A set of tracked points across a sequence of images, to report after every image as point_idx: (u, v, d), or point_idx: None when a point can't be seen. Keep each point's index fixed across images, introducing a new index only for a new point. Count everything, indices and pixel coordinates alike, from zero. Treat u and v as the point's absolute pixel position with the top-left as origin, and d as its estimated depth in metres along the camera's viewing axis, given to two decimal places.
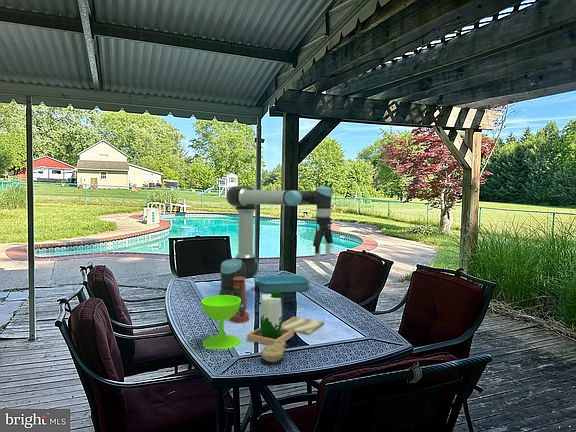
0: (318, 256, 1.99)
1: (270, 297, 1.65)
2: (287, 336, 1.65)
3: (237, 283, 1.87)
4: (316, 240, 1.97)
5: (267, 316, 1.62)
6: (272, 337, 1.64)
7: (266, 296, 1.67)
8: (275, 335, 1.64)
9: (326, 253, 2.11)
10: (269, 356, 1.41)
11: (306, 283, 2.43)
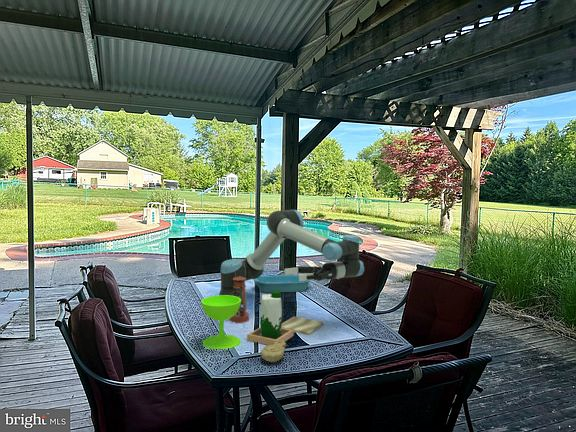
0: (302, 279, 1.64)
1: (270, 297, 1.65)
2: (287, 336, 1.65)
3: (237, 283, 1.87)
4: (322, 277, 1.66)
5: (267, 316, 1.62)
6: (272, 337, 1.64)
7: (266, 296, 1.67)
8: (275, 335, 1.64)
9: (287, 270, 1.76)
10: (269, 356, 1.41)
11: (306, 283, 2.43)
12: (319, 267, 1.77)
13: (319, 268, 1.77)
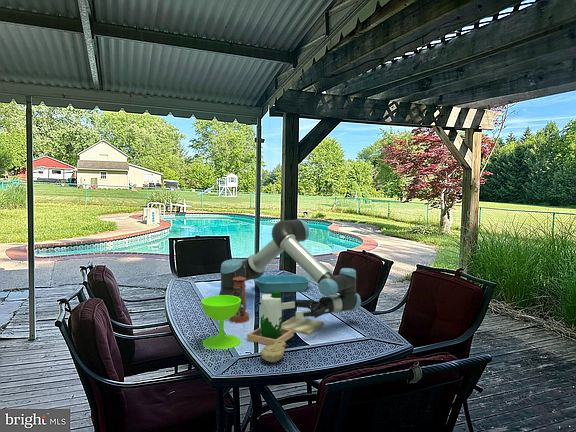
0: (299, 316, 1.64)
1: (270, 297, 1.65)
2: (287, 336, 1.65)
3: (237, 283, 1.87)
4: (319, 314, 1.66)
5: (267, 316, 1.62)
6: (272, 337, 1.64)
7: (266, 296, 1.67)
8: (275, 335, 1.64)
9: (284, 304, 1.76)
10: (269, 356, 1.41)
11: (306, 283, 2.43)
12: (316, 301, 1.77)
13: (316, 302, 1.77)
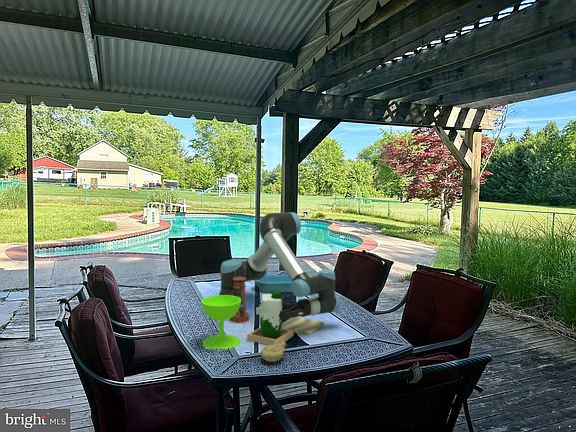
0: None
1: (270, 298, 1.63)
2: (287, 336, 1.65)
3: (237, 283, 1.87)
4: (288, 316, 1.63)
5: (267, 317, 1.62)
6: (272, 337, 1.64)
7: (266, 296, 1.65)
8: (275, 335, 1.63)
9: (258, 309, 1.68)
10: (269, 356, 1.41)
11: None
12: (293, 304, 1.72)
13: (293, 305, 1.72)
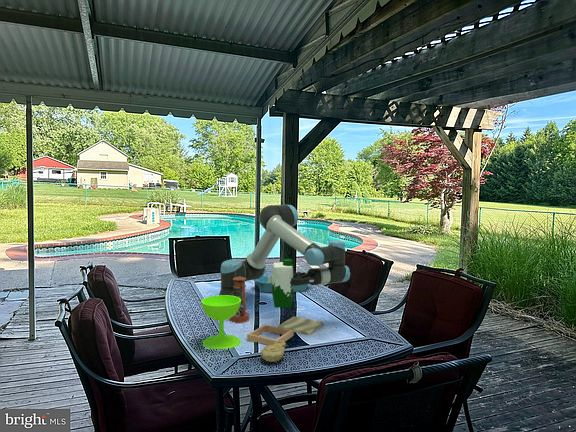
0: (278, 284, 1.65)
1: (282, 265, 1.66)
2: (287, 336, 1.65)
3: (237, 283, 1.87)
4: (299, 283, 1.66)
5: (279, 283, 1.65)
6: (284, 304, 1.67)
7: (278, 264, 1.68)
8: (286, 301, 1.66)
9: (270, 277, 1.72)
10: (269, 356, 1.41)
11: None
12: (304, 273, 1.76)
13: (304, 274, 1.76)
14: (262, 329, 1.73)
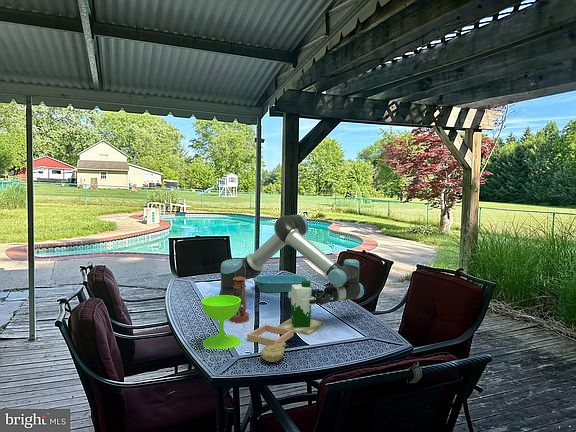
0: (305, 303, 1.74)
1: (301, 287, 1.78)
2: (287, 336, 1.65)
3: (237, 283, 1.87)
4: (324, 301, 1.76)
5: (299, 304, 1.75)
6: (303, 323, 1.77)
7: (297, 286, 1.80)
8: (306, 321, 1.77)
9: (290, 293, 1.85)
10: (269, 356, 1.41)
11: None
12: (321, 290, 1.86)
13: (321, 291, 1.86)
14: (262, 329, 1.73)
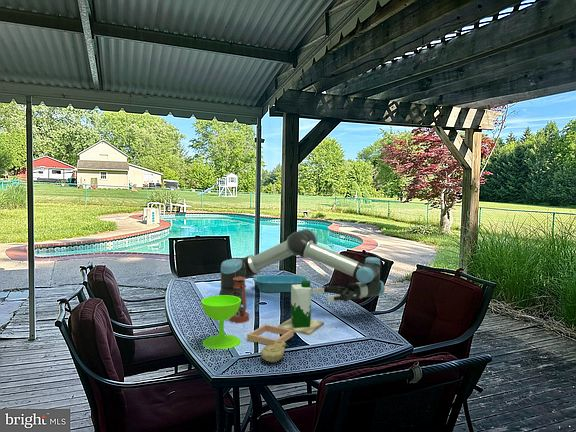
0: (330, 300, 1.79)
1: (301, 287, 1.78)
2: (287, 336, 1.65)
3: (237, 283, 1.87)
4: (348, 298, 1.81)
5: (299, 304, 1.75)
6: (303, 324, 1.77)
7: (296, 286, 1.80)
8: (306, 321, 1.77)
9: (314, 290, 1.91)
10: (269, 356, 1.41)
11: None
12: (344, 287, 1.92)
13: (344, 288, 1.92)
14: (262, 329, 1.73)
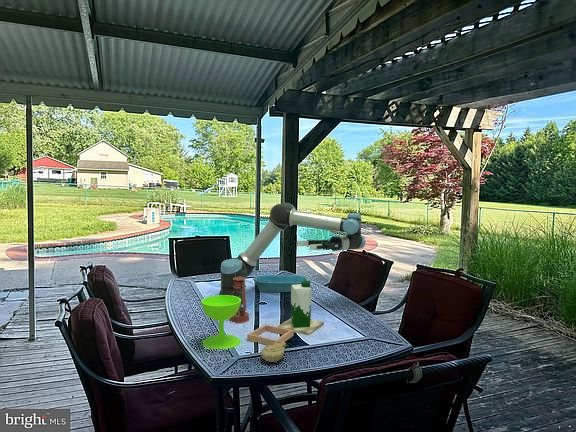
0: (313, 248, 1.93)
1: (301, 287, 1.78)
2: (287, 336, 1.65)
3: (237, 283, 1.87)
4: (329, 247, 1.95)
5: (299, 304, 1.75)
6: (303, 324, 1.77)
7: (296, 286, 1.80)
8: (306, 321, 1.77)
9: (299, 242, 2.04)
10: (269, 356, 1.41)
11: None
12: (327, 240, 2.05)
13: (326, 241, 2.05)
14: (262, 329, 1.73)
